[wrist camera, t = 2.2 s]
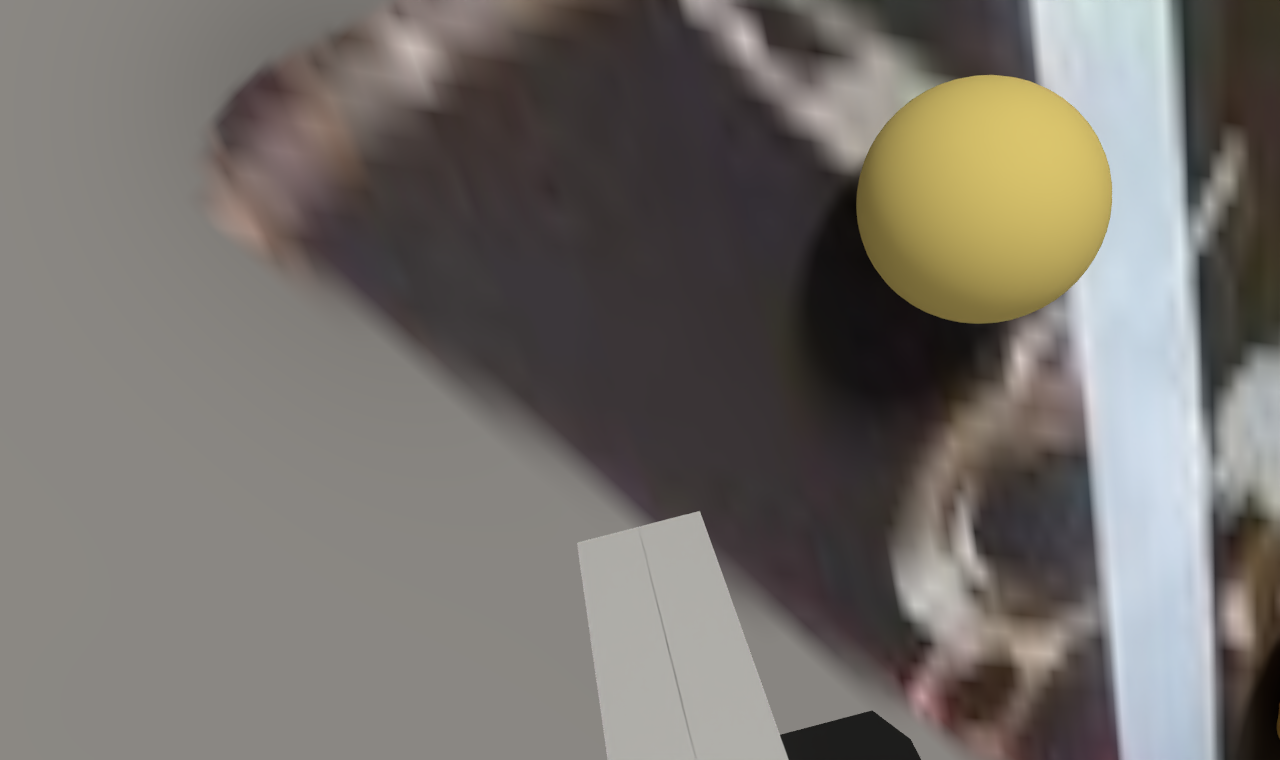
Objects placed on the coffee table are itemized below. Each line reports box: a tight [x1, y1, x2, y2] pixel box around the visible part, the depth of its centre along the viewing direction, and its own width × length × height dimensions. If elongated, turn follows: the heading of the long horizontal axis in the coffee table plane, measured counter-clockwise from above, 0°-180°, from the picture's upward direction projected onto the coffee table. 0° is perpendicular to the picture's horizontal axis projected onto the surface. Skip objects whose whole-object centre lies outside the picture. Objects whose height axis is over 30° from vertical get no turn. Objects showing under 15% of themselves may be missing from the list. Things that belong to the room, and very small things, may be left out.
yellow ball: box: [856, 75, 1112, 324], centre depth 27 cm, size 6×6×6 cm
